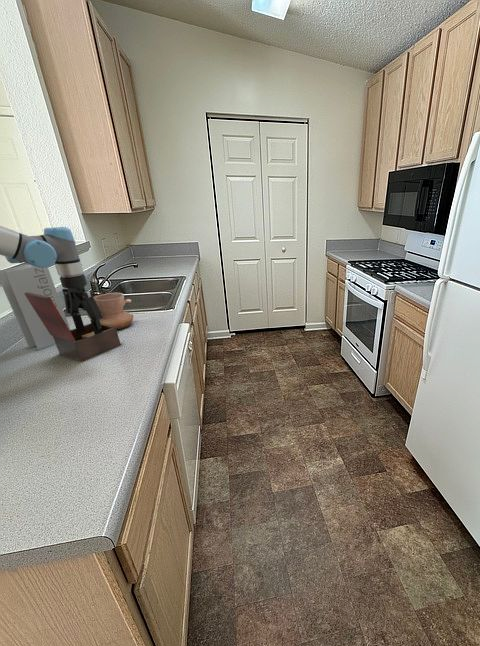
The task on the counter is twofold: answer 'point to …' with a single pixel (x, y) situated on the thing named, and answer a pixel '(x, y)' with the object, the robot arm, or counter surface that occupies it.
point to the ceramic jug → (113, 310)
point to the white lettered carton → (27, 318)
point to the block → (88, 335)
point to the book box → (88, 343)
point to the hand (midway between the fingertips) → (90, 334)
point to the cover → (50, 316)
